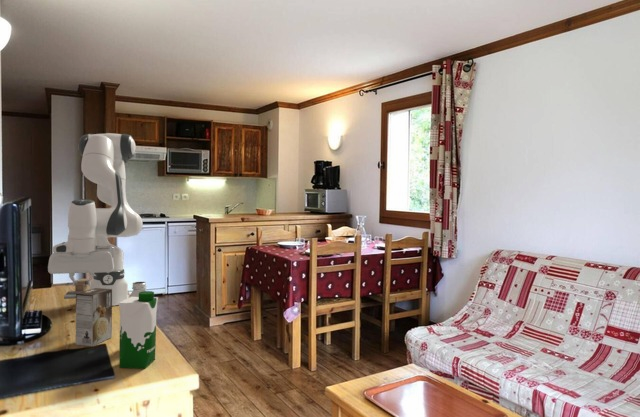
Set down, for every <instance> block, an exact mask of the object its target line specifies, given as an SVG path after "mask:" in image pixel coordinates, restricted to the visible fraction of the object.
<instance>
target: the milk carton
mask: <svg viewBox="0 0 640 417" xmlns="http://www.w3.org/2000/svg"><path fill="white" fill-rule="evenodd" d="M158 301H159V297H155V292H154V291H151V290H150V291H149V290H147V291H146V290H145V291H143V292H139V297H130V298H128V299H125V300H123V301H121V302H119V305H118V307H119V309H118V310H119V346H118V348H119V349H118V350H119V355H118V356H119V357H118V360H119V361H118V363H119V365H118V366H119V368H120V369H122V368H123V369H143V370H145V369H147V367H149V366H150V364H152V363H153V362H154V361H155V360H156V346H157V345H156V342H157V341H156V339H157V310H158ZM119 368H118V369H119Z"/></svg>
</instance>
